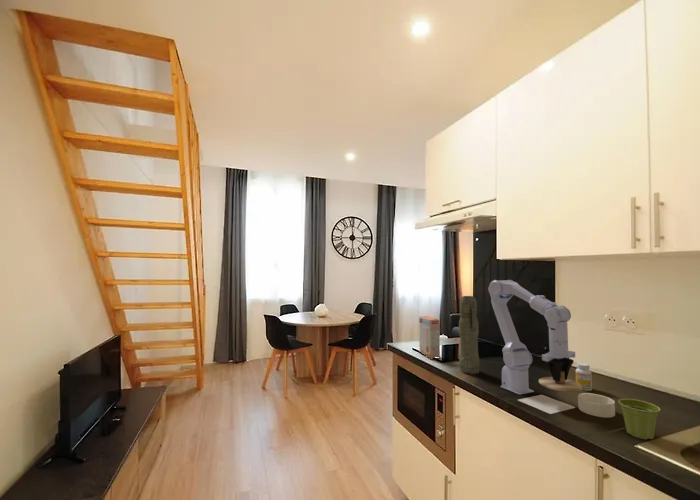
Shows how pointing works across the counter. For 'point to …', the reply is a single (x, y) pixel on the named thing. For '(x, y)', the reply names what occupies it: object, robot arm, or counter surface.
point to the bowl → (596, 405)
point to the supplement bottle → (584, 376)
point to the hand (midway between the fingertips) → (559, 379)
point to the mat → (546, 404)
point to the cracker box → (429, 337)
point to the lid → (560, 384)
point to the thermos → (468, 335)
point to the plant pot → (639, 417)
